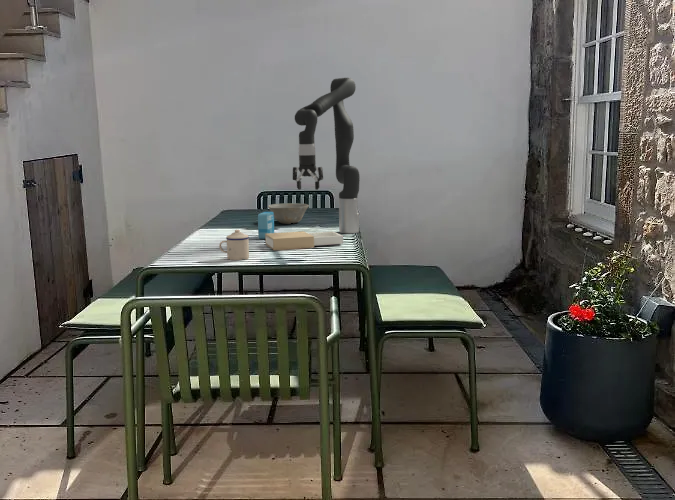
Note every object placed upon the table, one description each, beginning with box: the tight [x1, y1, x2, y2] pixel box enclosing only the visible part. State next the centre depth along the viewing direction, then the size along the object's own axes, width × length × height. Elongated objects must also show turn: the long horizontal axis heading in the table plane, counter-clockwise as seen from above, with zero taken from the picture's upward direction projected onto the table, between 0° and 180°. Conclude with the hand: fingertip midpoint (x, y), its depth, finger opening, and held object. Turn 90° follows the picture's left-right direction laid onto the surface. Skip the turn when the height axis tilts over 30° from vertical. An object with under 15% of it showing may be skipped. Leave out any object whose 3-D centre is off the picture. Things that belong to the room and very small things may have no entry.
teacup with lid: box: [218, 229, 250, 261], centre depth 265 cm, size 12×9×12 cm
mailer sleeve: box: [264, 230, 315, 251], centre depth 293 cm, size 18×16×5 cm
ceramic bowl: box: [267, 202, 310, 225], centre depth 368 cm, size 22×23×10 cm
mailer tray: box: [265, 231, 344, 248], centre depth 295 cm, size 32×14×4 cm, turn 109°
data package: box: [257, 211, 275, 240], centre depth 318 cm, size 12×4×12 cm, turn 170°
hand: (308, 189), depth 305 cm, fingers open, 8 cm apart
